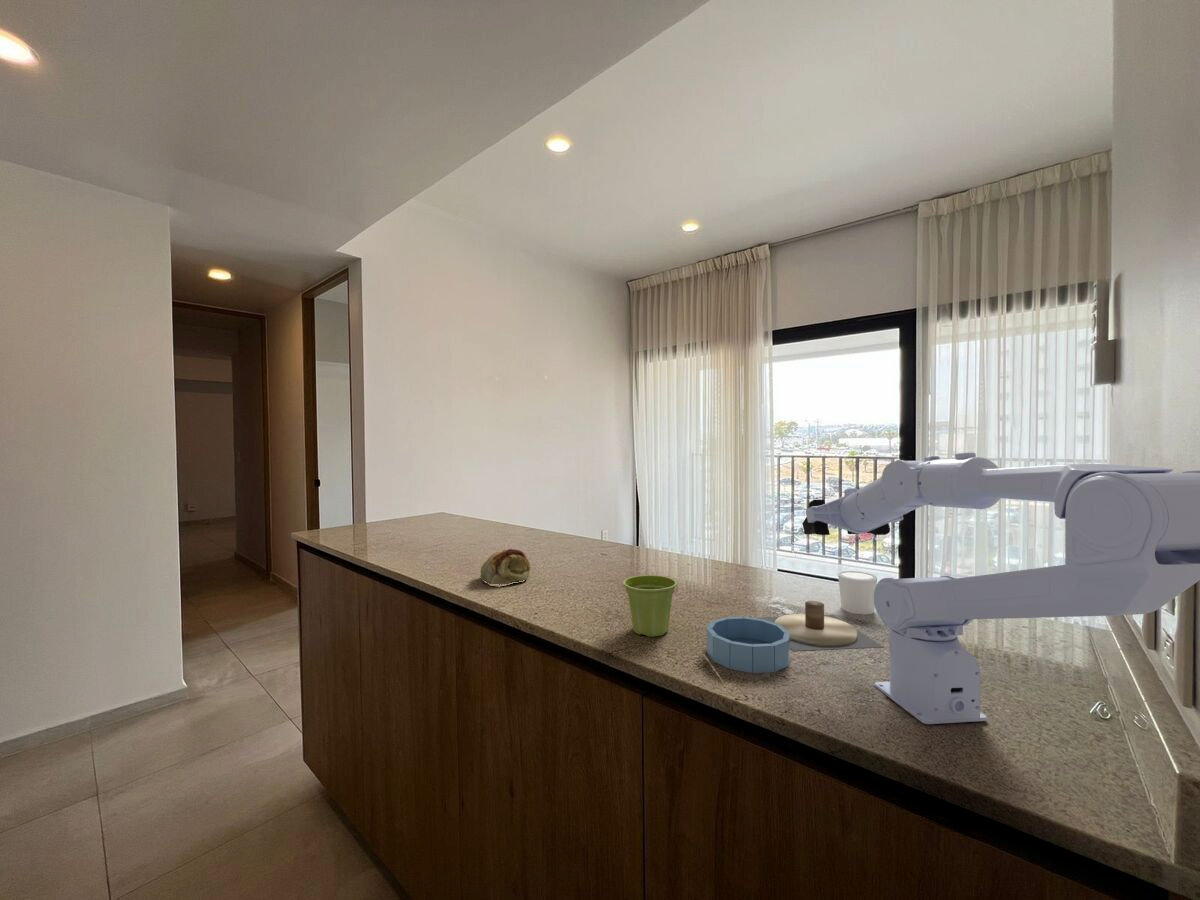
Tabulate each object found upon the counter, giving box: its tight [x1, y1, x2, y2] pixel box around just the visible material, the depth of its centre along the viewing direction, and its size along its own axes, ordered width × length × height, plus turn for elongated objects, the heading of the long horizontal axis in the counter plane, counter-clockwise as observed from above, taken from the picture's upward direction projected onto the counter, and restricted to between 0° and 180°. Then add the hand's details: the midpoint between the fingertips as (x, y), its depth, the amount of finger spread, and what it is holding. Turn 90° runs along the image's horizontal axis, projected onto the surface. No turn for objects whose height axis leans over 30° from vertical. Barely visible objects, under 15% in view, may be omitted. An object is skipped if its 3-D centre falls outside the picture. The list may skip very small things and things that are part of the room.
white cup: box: [837, 570, 878, 615], centre depth 97 cm, size 7×7×7 cm
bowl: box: [706, 616, 791, 674], centre depth 77 cm, size 12×12×4 cm
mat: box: [756, 614, 885, 652], centre depth 86 cm, size 15×15×1 cm
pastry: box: [480, 548, 532, 585], centre depth 122 cm, size 14×12×8 cm
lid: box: [775, 600, 857, 646], centre depth 86 cm, size 13×13×5 cm
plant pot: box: [622, 574, 678, 638], centre depth 88 cm, size 9×9×9 cm
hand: (827, 528), depth 85 cm, fingers open, 7 cm apart
